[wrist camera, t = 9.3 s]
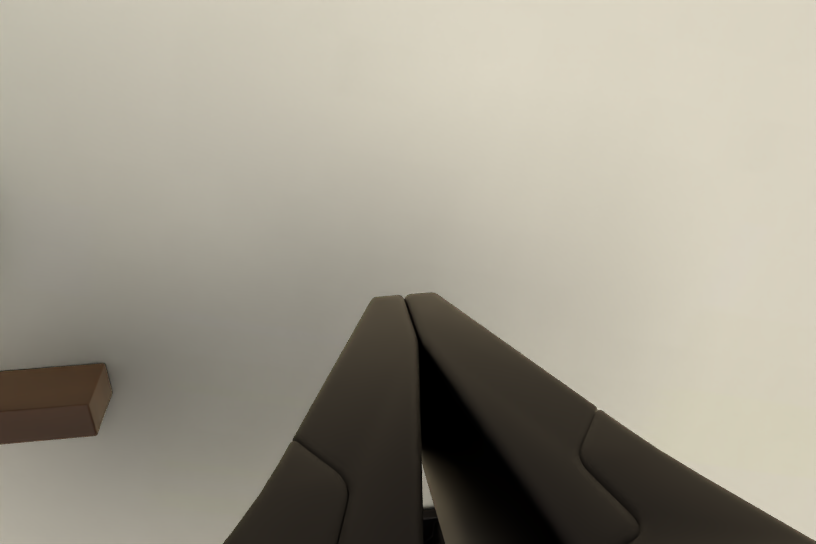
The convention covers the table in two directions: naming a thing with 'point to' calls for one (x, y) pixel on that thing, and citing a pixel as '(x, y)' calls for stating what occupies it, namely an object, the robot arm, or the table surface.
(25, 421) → the frame
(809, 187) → the table surface
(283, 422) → the table surface
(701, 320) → the table surface
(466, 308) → the table surface
